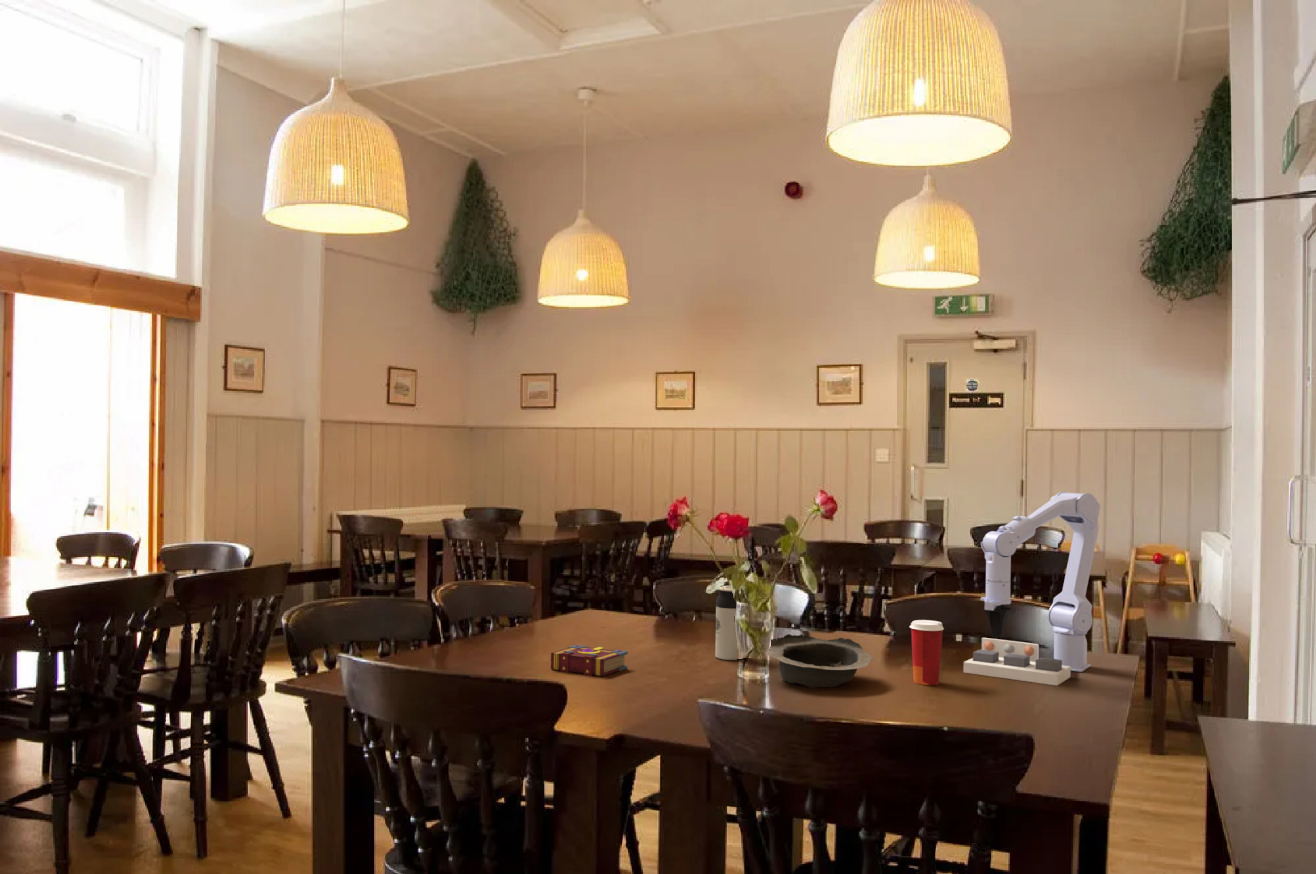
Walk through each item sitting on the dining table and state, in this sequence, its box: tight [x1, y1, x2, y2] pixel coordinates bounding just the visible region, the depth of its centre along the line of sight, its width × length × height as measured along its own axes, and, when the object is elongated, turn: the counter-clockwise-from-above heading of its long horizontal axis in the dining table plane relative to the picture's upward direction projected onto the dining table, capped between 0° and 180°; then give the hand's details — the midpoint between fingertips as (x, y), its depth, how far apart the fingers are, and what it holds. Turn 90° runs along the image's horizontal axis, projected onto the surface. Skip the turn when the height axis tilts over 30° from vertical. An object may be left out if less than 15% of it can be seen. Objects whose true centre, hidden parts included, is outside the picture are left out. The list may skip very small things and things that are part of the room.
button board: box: [963, 657, 1072, 687], centre depth 248 cm, size 12×22×2 cm, turn 54°
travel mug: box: [714, 585, 738, 661], centre depth 263 cm, size 8×8×18 cm
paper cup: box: [909, 619, 945, 686], centre depth 238 cm, size 8×8×14 cm
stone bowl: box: [766, 633, 874, 689], centre depth 237 cm, size 25×25×9 cm
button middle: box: [1004, 653, 1030, 668], centre depth 248 cm, size 5×5×3 cm
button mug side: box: [972, 649, 999, 663], centre depth 253 cm, size 5×5×3 cm
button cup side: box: [1036, 657, 1062, 672], centre depth 244 cm, size 5×5×3 cm
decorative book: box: [550, 644, 629, 677], centre depth 246 cm, size 11×16×5 cm
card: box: [981, 637, 1040, 662], centre depth 260 cm, size 1×14×6 cm, turn 54°
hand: (997, 636), depth 250 cm, fingers closed
